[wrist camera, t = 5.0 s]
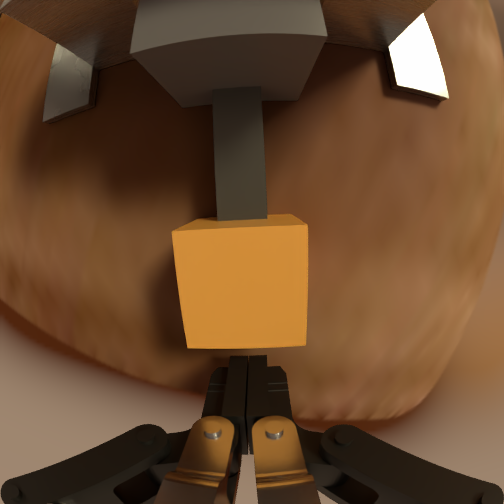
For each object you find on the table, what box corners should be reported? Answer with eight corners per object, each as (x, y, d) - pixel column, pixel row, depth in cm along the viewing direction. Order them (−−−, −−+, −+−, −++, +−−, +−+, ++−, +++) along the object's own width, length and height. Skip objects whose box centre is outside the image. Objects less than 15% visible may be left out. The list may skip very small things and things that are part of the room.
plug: (303, 299, 11) (333, 373, 6) (195, 303, 11) (157, 376, 6) (288, 24, 8) (304, -52, 3) (184, 31, 8) (149, -38, 4)
